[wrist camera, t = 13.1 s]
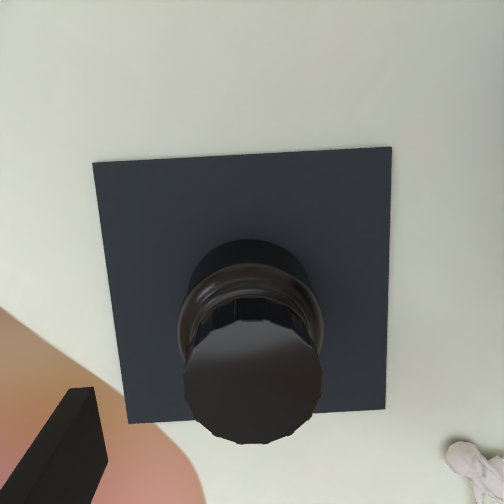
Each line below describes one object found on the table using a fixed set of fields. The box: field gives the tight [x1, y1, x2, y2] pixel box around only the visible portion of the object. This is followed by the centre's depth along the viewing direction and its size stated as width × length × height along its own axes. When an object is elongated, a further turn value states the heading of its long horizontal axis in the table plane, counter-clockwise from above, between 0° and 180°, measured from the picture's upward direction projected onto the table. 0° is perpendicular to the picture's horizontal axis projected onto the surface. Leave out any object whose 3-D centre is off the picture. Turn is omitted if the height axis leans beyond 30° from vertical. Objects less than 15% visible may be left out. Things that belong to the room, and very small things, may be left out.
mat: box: [92, 147, 392, 424], centre depth 35 cm, size 20×20×1 cm
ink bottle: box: [177, 239, 324, 445], centre depth 29 cm, size 10×9×12 cm
